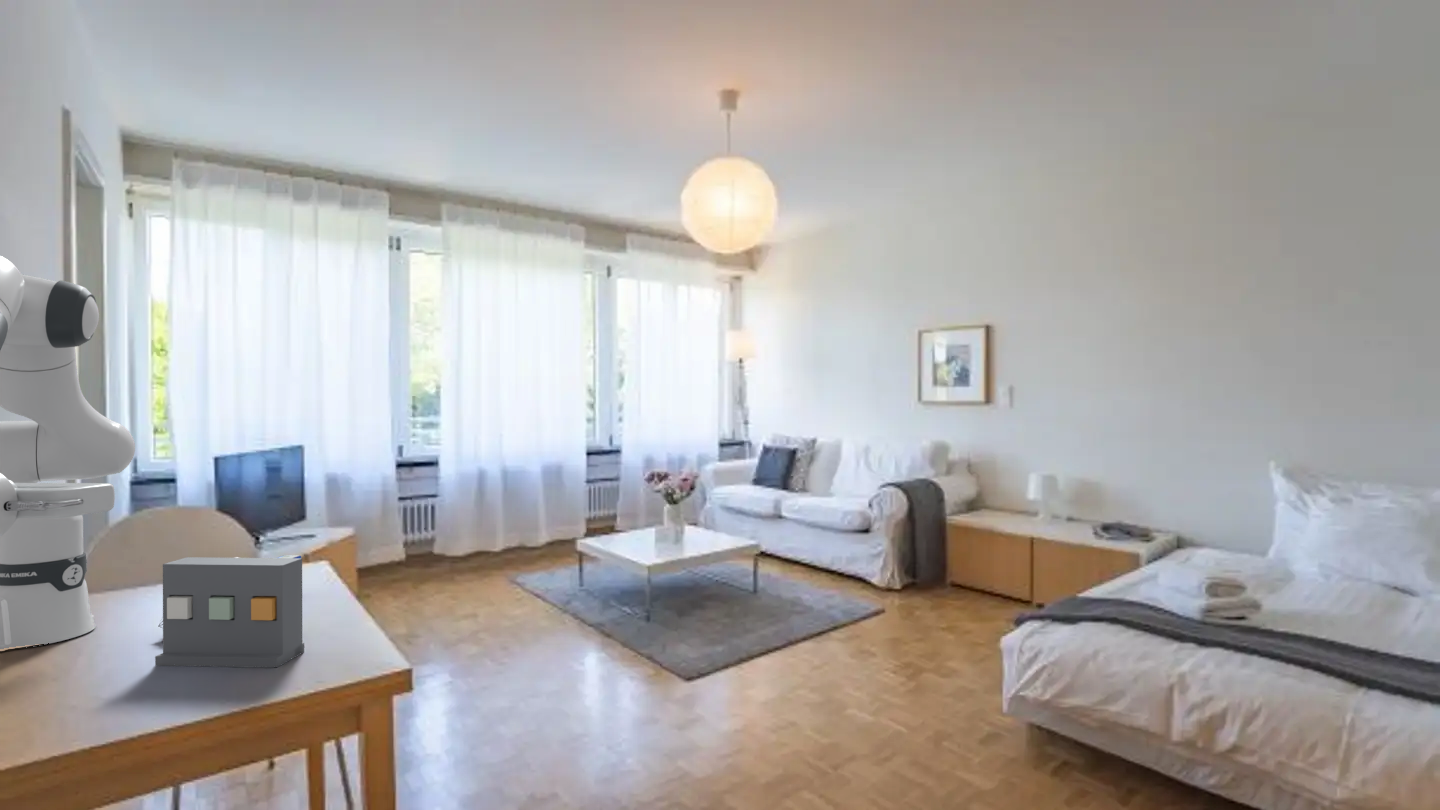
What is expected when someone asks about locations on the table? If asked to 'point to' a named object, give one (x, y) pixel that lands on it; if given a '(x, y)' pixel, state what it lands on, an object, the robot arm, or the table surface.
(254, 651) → the button panel
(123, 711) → the table surface
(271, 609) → the button orange
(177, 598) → the button offwhite
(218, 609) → the button sage
